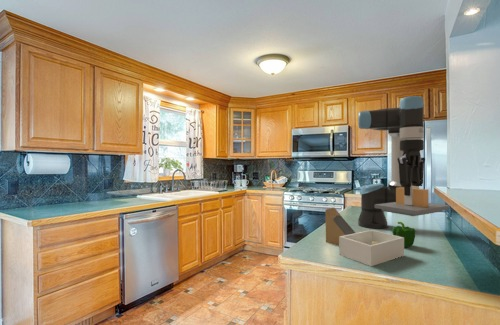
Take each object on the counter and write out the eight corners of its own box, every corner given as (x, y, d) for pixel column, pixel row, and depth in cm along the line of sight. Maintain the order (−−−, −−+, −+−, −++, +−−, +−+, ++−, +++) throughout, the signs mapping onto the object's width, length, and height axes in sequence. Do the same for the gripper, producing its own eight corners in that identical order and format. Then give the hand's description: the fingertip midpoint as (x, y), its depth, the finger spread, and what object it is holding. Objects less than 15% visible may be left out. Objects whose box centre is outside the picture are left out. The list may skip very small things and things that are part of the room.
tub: (371, 245, 116) (371, 229, 116) (404, 255, 104) (404, 237, 104) (339, 254, 106) (339, 236, 106) (371, 266, 94) (371, 246, 94)
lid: (408, 205, 110) (408, 185, 110) (450, 211, 97) (450, 188, 97) (374, 210, 100) (374, 188, 100) (415, 217, 87) (415, 192, 87)
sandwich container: (359, 249, 112) (359, 213, 112) (325, 242, 122) (325, 209, 122) (367, 245, 118) (366, 210, 118) (333, 238, 128) (333, 206, 128)
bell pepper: (419, 248, 112) (419, 224, 112) (400, 249, 112) (400, 225, 111) (406, 242, 120) (406, 220, 120) (389, 243, 120) (389, 220, 120)
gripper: (408, 138, 91) (408, 207, 91) (434, 139, 99) (435, 203, 99) (387, 139, 98) (388, 204, 98) (413, 141, 105) (414, 201, 105)
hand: (411, 204), depth 98 cm, fingers closed on lid, 3 cm apart
